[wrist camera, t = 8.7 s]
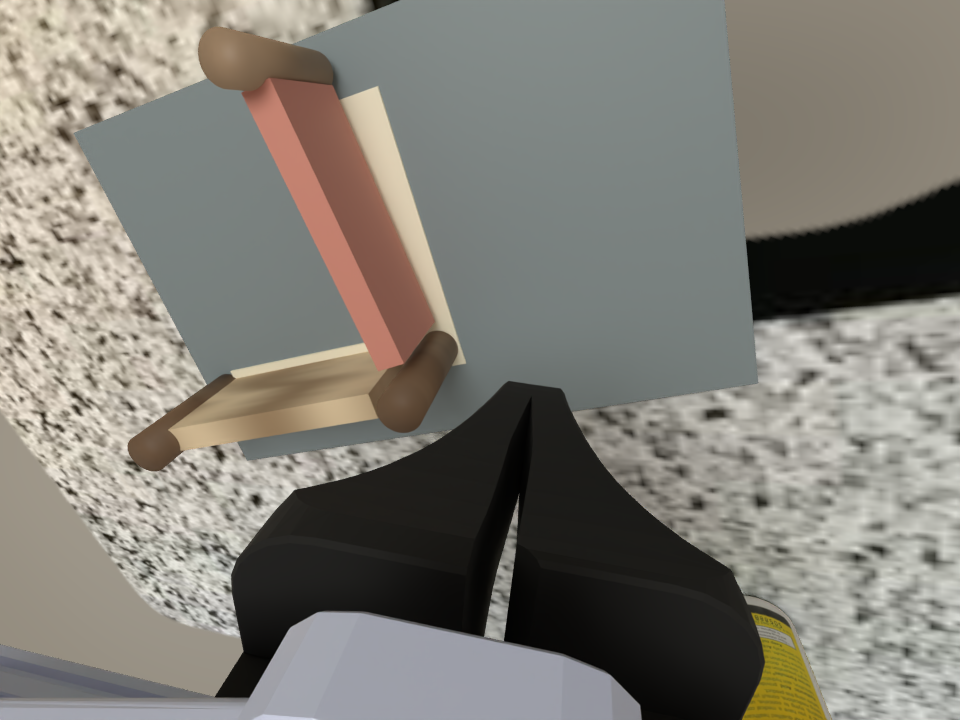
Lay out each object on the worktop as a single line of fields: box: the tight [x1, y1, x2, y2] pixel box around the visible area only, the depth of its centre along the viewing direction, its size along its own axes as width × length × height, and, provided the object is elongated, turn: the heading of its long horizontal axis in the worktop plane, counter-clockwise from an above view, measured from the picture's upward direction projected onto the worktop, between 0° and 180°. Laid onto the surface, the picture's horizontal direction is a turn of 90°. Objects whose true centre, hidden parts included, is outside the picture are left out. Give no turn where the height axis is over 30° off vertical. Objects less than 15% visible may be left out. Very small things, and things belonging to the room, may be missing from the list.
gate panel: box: [198, 27, 435, 371], centre depth 17 cm, size 10×1×5 cm, turn 22°
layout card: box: [74, 0, 758, 461], centre depth 21 cm, size 24×16×1 cm, turn 106°
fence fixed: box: [128, 331, 458, 471], centre depth 21 cm, size 12×2×6 cm, turn 106°
